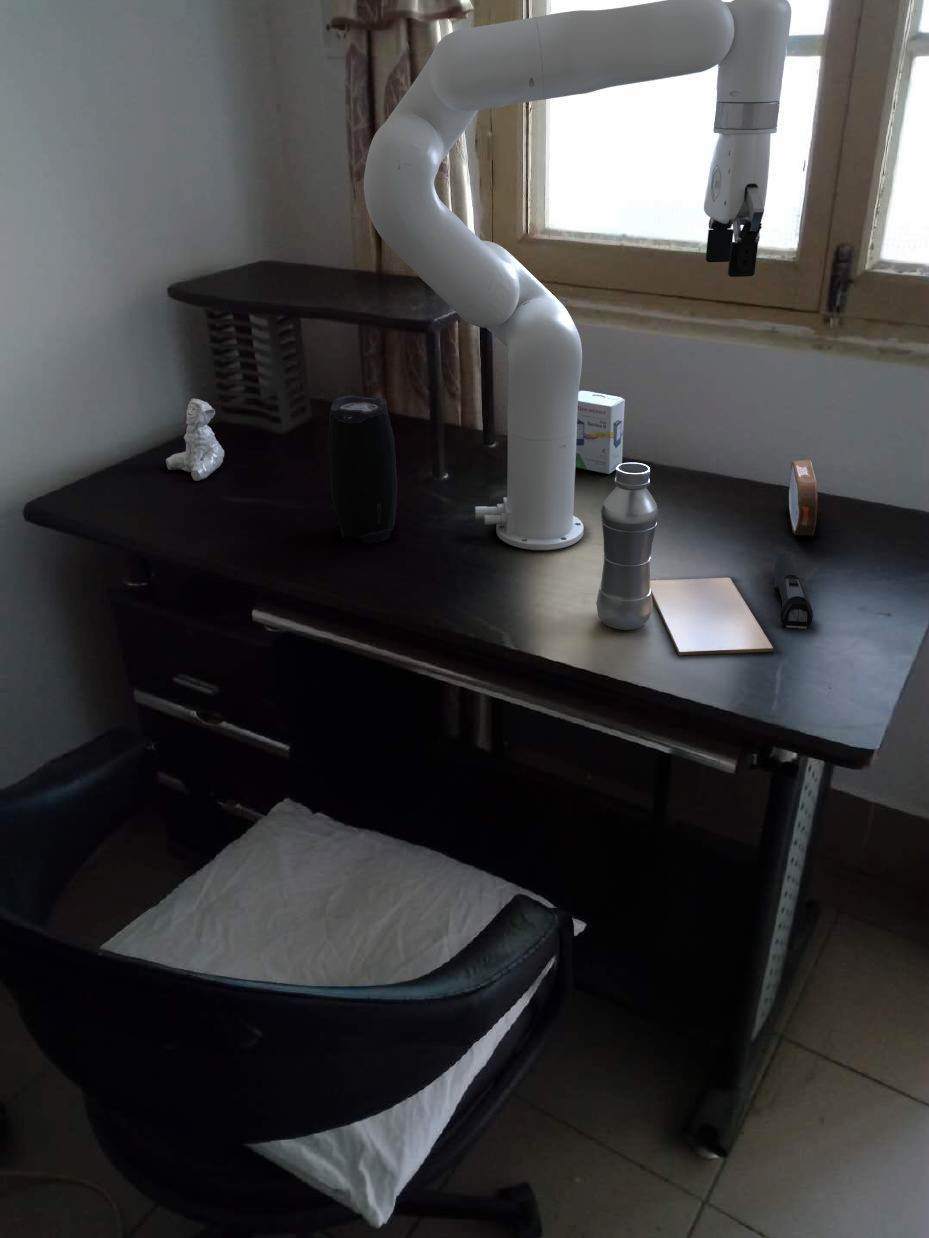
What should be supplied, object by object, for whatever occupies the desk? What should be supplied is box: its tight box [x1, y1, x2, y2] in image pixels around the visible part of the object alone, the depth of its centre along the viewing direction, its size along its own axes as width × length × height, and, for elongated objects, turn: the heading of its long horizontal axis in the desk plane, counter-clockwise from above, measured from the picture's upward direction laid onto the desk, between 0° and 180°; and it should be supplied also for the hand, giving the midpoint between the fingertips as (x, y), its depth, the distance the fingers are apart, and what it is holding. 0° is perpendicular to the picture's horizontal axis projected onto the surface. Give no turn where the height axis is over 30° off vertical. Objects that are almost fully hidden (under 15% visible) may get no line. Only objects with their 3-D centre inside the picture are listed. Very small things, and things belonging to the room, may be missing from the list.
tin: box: [788, 459, 818, 537], centre depth 146 cm, size 15×3×8 cm, turn 168°
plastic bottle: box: [595, 462, 660, 631], centre depth 118 cm, size 6×7×20 cm
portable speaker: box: [327, 394, 398, 545], centre depth 142 cm, size 9×9×20 cm
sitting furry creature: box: [165, 398, 225, 482], centre depth 168 cm, size 10×9×12 cm
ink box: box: [575, 390, 626, 475], centre depth 166 cm, size 9×5×12 cm, turn 55°
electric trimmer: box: [774, 551, 814, 629], centre depth 127 cm, size 4×16×3 cm, turn 170°
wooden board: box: [650, 577, 774, 656], centre depth 124 cm, size 11×18×1 cm, turn 3°
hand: (728, 268), depth 129 cm, fingers open, 9 cm apart
